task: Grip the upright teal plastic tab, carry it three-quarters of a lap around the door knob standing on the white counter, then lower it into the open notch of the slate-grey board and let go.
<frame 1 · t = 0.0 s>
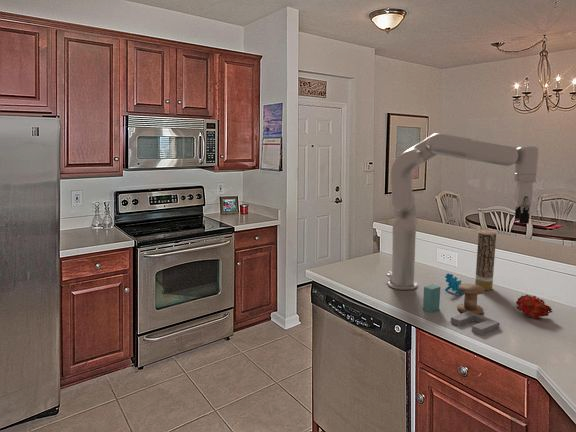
hand: (521, 220, 174), 31 cm above the worktop, tool pointing down, fingers open, 9 cm apart
paper tube: (483, 288, 189), on the worktop
notched board: (474, 325, 153), on the worktop
door knob: (469, 310, 165), on the worktop
teal tab: (431, 309, 167), on the worktop
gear: (454, 292, 185), on the worktop
dragon fruit: (532, 317, 159), on the worktop
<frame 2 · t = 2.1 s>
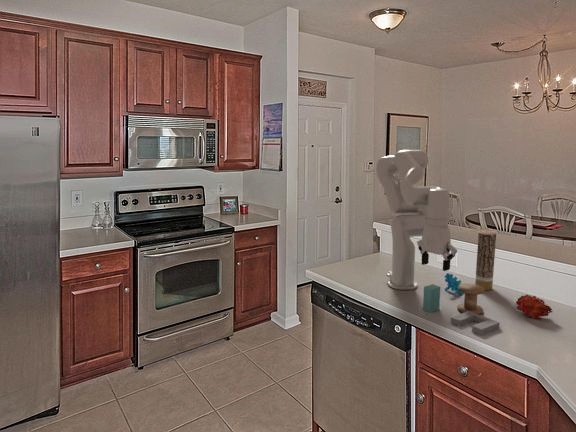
hand: (435, 267, 164), 17 cm above the worktop, tool pointing down, fingers open, 9 cm apart
nothing on the worktop moved.
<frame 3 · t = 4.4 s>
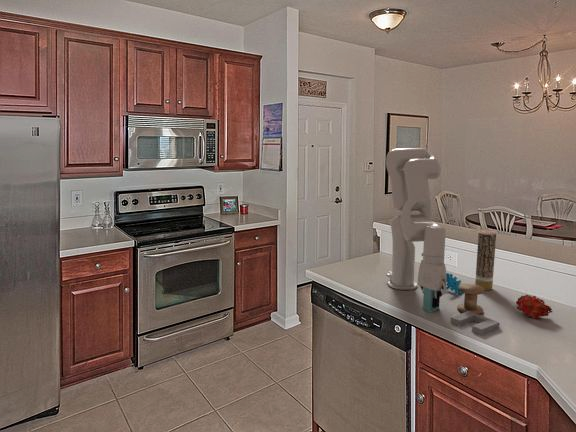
hand: (431, 304, 167), 2 cm above the worktop, tool pointing down, fingers closed on teal tab, 3 cm apart
teal tab: (430, 309, 167), on the worktop, touching gripper
everything else where it was.
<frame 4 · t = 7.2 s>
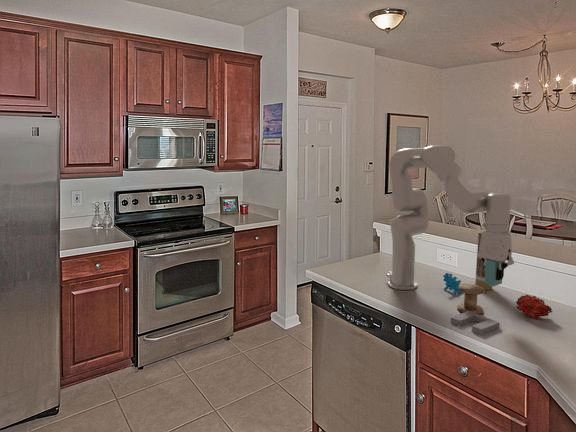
hand: (493, 277, 157), 15 cm above the worktop, tool pointing down, fingers closed on teal tab, 3 cm apart
teal tab: (493, 283, 158), point 13 cm above the worktop, touching gripper
everything else where it was.
when the fingers open (3 cm above the worktop, at t = 10.4 s): teal tab drops 1 cm, resting in notched board.
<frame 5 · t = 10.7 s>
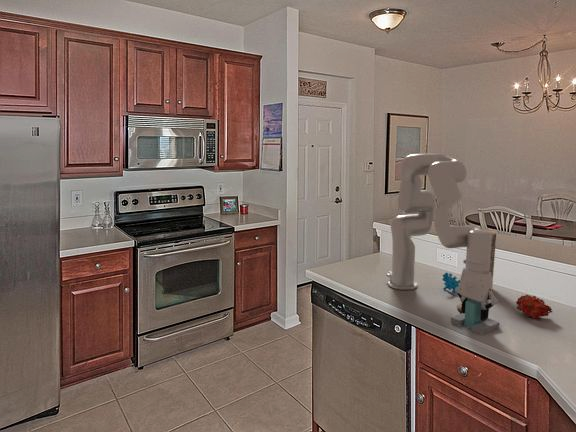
hand: (474, 315, 152), 4 cm above the worktop, tool pointing down, fingers open, 6 cm apart
teal tab: (473, 325, 152), resting in notched board
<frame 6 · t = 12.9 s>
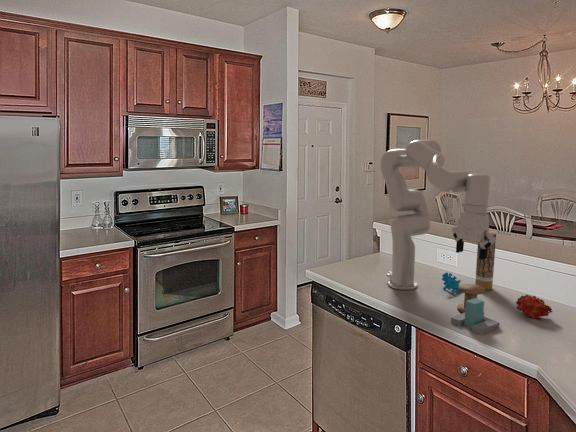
hand: (470, 255, 158), 23 cm above the worktop, tool pointing down, fingers open, 9 cm apart
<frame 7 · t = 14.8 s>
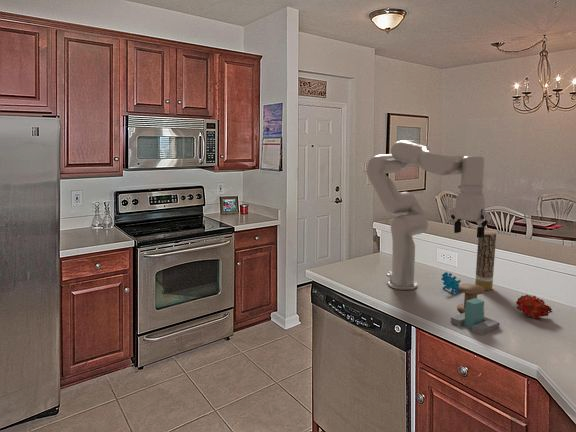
hand: (468, 234, 165), 28 cm above the worktop, tool pointing down, fingers open, 9 cm apart
at the end: teal tab 0.4 cm from the target spot on the notched board, point 0.0 cm above the notched board's base; teal tab tilted 0°; the gripper is holding nothing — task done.
